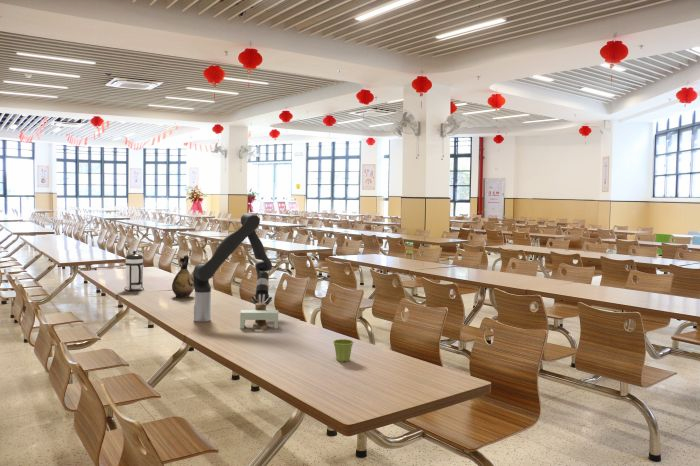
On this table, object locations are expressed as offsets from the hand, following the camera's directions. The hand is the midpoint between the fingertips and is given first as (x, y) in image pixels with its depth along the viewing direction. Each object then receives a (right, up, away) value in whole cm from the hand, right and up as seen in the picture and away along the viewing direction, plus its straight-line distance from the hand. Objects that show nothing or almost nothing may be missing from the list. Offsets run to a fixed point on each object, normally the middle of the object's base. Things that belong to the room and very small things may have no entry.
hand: (261, 310), depth 341 cm
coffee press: (-109, +3, +91) cm, 142 cm away
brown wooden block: (+2, -7, -16) cm, 17 cm away
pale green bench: (+2, -7, -16) cm, 18 cm away
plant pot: (+50, -12, -77) cm, 93 cm away
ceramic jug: (-67, 0, +70) cm, 97 cm away
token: (+3, -8, -26) cm, 27 cm away
